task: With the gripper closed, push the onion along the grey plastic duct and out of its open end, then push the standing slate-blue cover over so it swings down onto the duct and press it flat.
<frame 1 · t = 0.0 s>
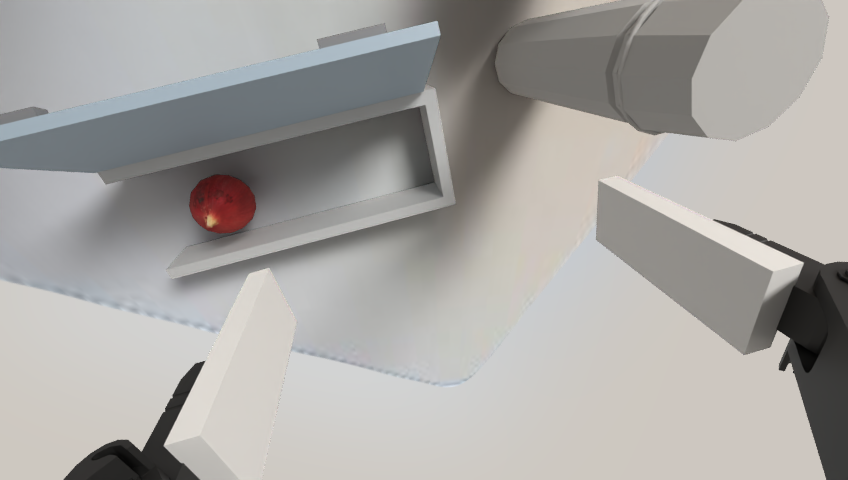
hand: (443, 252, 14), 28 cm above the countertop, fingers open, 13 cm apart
water bottle: (531, 57, 38), on the countertop
duct cover: (231, 109, 26), point 10 cm above the countertop, hinge at -20.0°
onion: (235, 191, 39), resting in duct
duct: (297, 176, 39), on the countertop
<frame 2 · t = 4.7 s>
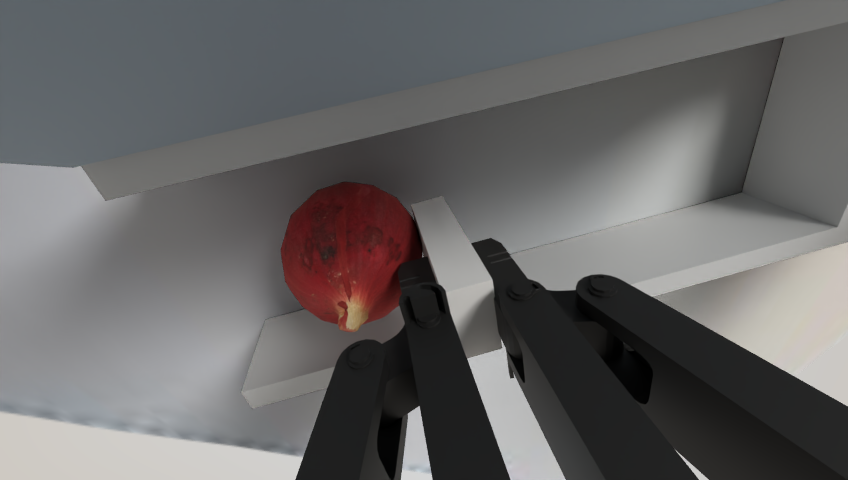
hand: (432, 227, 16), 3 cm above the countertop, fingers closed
onion: (355, 215, 18), resting in duct, touching gripper
duct: (506, 178, 19), on the countertop
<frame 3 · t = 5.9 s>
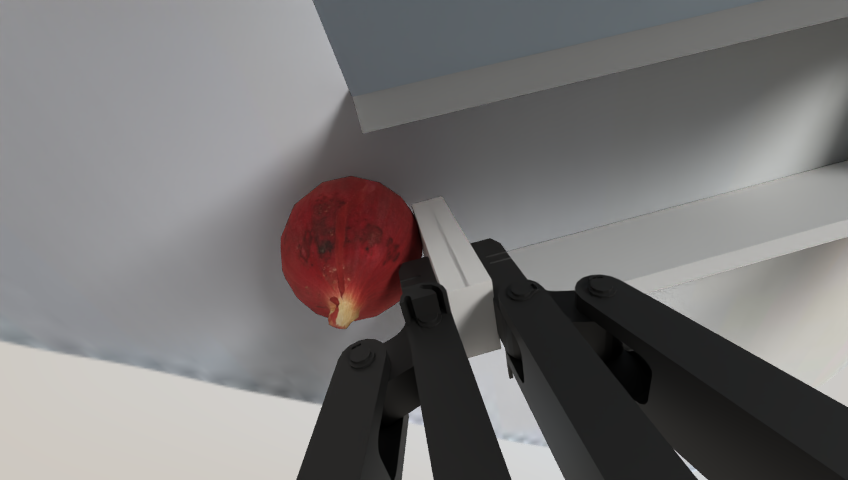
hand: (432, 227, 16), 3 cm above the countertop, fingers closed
onion: (360, 210, 18), on the countertop, touching gripper
duct: (651, 138, 19), on the countertop
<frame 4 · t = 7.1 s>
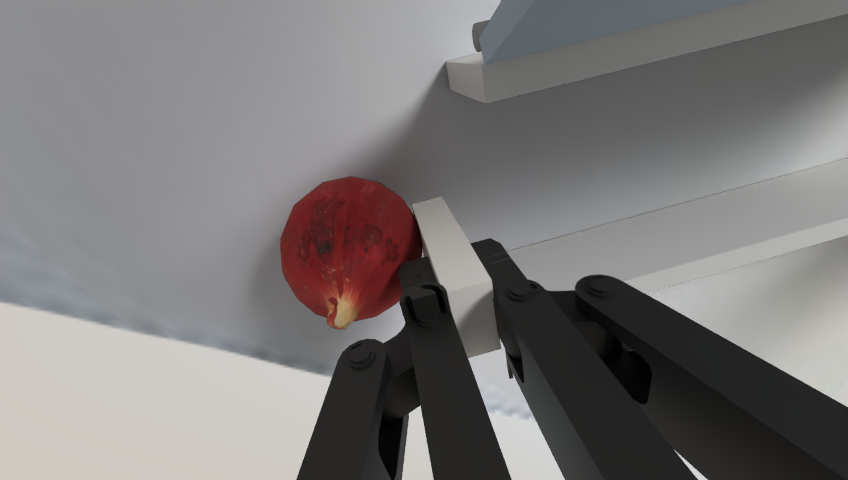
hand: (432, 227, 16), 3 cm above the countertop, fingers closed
onion: (361, 210, 18), on the countertop, touching gripper
duct: (724, 118, 19), on the countertop
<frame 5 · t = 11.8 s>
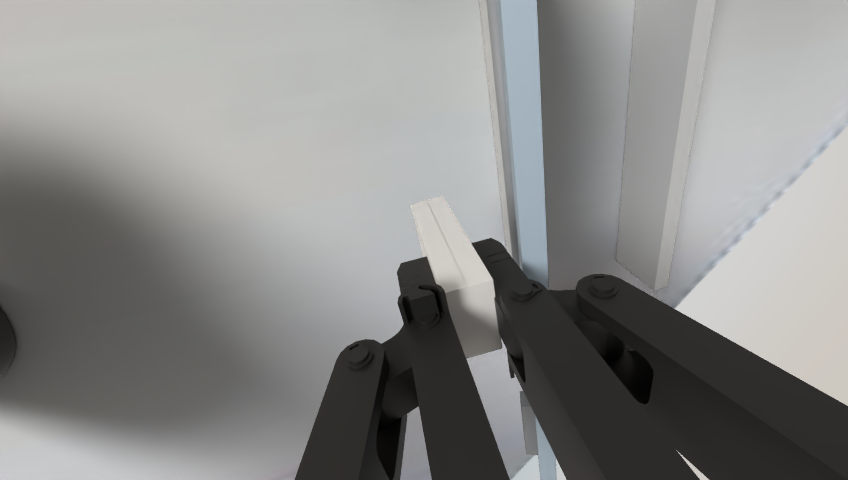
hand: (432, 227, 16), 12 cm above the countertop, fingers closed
duct cover: (516, 191, 17), point 10 cm above the countertop, hinge at -20.0°, touching gripper
duct: (569, 115, 27), on the countertop
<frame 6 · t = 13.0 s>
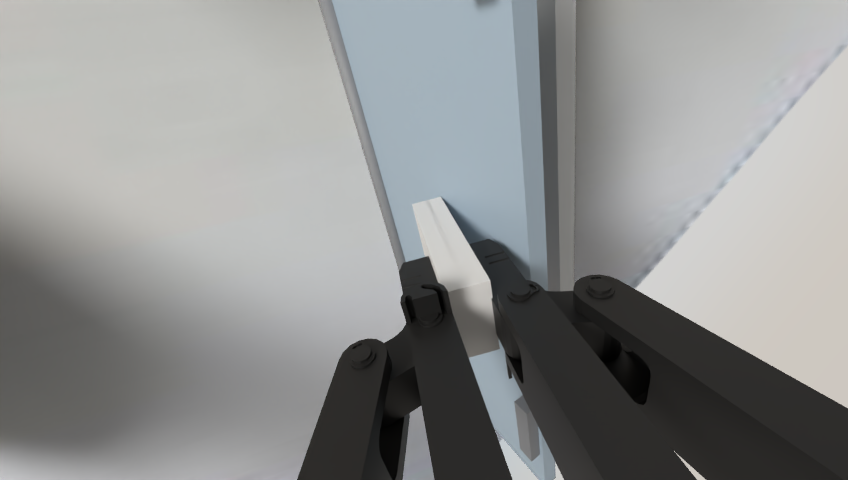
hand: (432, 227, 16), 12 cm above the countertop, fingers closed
duct cover: (434, 212, 17), point 11 cm above the countertop, hinge at 20.9°, touching gripper
duct: (464, 140, 27), on the countertop
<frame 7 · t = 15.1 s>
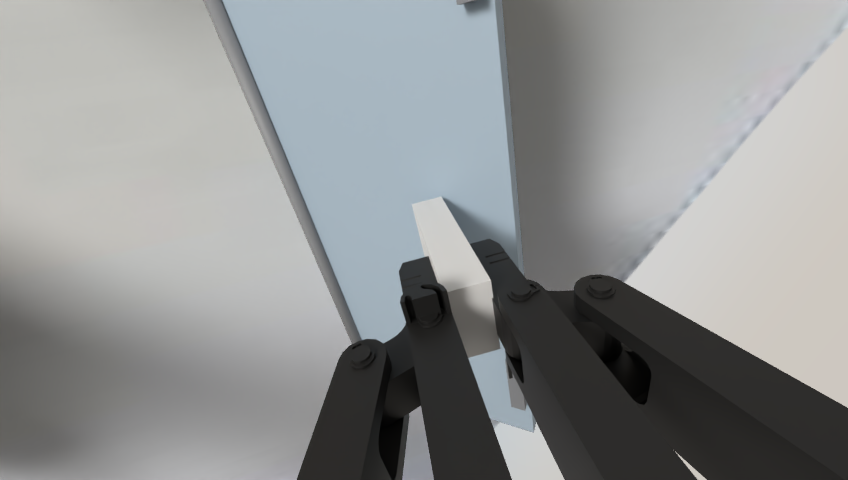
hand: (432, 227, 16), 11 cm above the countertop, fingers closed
duct cover: (390, 217, 18), point 9 cm above the countertop, hinge at 54.7°, touching gripper
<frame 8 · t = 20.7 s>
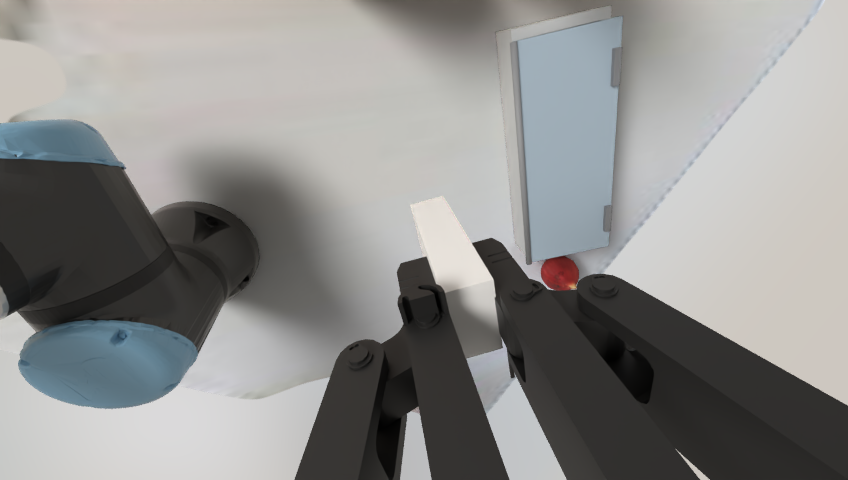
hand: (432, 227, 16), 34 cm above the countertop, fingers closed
duct cover: (566, 159, 46), point 7 cm above the countertop, hinge at 84.4°
onion: (548, 261, 62), on the countertop
duct: (545, 147, 52), on the countertop
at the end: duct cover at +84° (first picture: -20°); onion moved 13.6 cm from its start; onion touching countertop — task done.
